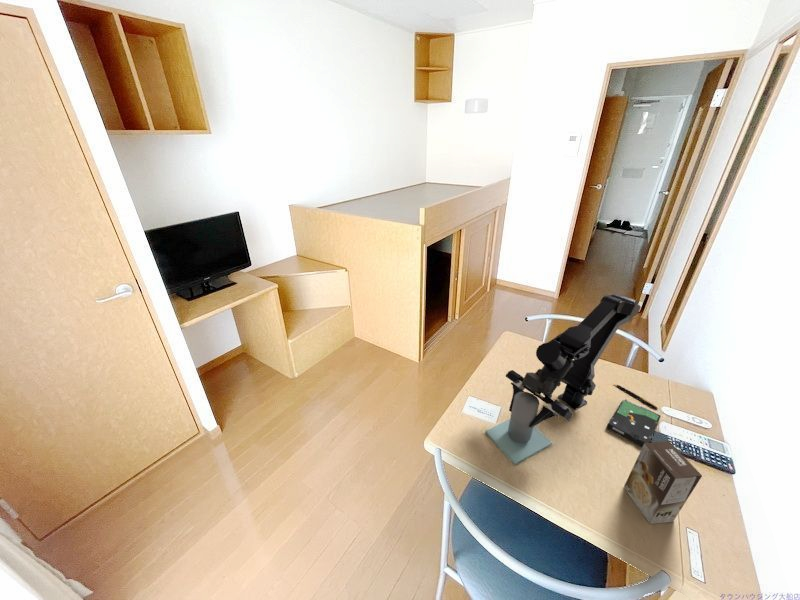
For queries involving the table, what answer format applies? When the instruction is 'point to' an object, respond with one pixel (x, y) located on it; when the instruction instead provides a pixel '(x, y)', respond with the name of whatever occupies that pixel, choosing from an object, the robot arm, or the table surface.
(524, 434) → the grey domed cylinder
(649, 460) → the coffee box
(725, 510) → the table surface
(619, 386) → the fountain pen
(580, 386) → the robot arm
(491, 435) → the slate board
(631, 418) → the disk drive
